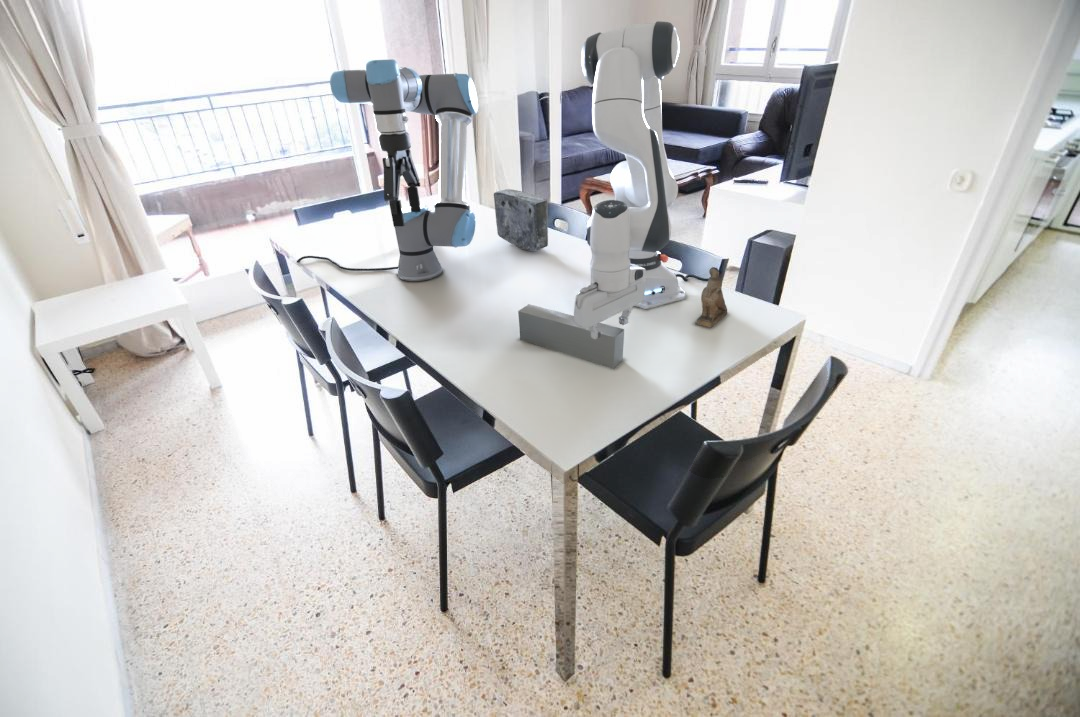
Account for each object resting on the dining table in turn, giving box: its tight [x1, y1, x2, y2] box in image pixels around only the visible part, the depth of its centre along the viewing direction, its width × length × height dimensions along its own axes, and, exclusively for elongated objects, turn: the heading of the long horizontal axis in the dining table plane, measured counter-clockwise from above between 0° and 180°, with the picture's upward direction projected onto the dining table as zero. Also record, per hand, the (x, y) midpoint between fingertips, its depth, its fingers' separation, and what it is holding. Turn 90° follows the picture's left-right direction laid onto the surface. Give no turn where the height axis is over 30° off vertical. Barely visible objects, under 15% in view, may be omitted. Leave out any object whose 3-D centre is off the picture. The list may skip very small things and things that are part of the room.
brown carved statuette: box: [695, 266, 728, 328], centre depth 135 cm, size 12×6×18 cm, turn 136°
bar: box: [517, 303, 625, 370], centre depth 126 cm, size 28×5×9 cm, turn 56°
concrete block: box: [493, 188, 549, 252], centre depth 191 cm, size 27×9×20 cm, turn 36°
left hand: (408, 218), depth 133 cm, fingers open, 13 cm apart
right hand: (609, 330), depth 119 cm, fingers open, 8 cm apart
